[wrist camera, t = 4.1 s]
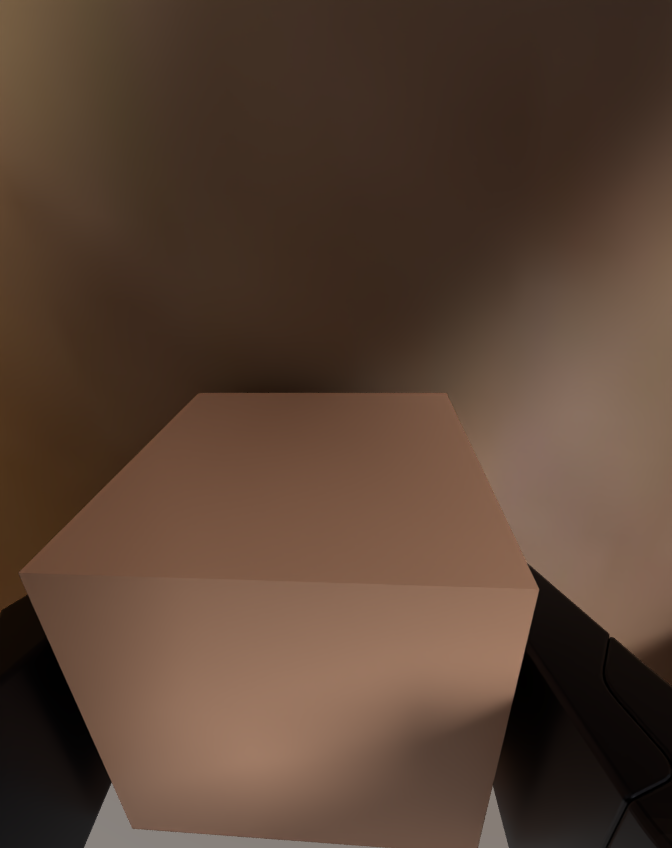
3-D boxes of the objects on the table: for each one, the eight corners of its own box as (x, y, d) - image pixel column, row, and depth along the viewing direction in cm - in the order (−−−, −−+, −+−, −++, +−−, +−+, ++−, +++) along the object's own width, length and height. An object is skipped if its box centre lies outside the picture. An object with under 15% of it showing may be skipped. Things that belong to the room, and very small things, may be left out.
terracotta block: (446, 393, 8) (538, 589, 4) (429, 583, 10) (476, 853, 6) (198, 392, 9) (19, 572, 4) (230, 576, 11) (132, 828, 6)
